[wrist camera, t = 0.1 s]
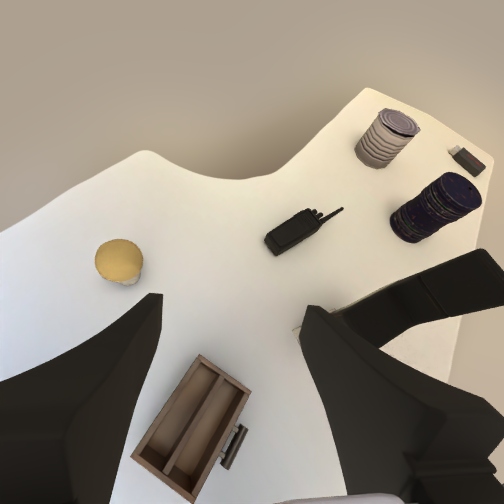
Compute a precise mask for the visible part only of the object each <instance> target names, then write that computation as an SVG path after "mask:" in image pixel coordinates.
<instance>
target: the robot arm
mask: <svg viewBox="0 0 504 504" xmlns="http://www.w3.org/2000/svg"><path fill="white" fill-rule="evenodd" d="M162 307H163V294H156V293H149V294H147V295H146V296H145V297H144V298H143V299H142V300H140V301H139V302H138V303H137V304H136V305H135V306H133V307H132V308H131V309H130V310H129V311H127V312H126V313H125V314H124V315H123V316H121V317H120V318H119V319H117V320H116V321H115V322H113V323H112V324H111V325H109V326H108V327H107V328H105V329H104V330H102V331H101V332H99V333H98V334H96V335H95V336H93V337H92V338H90V339H88V340H87V341H85V342H83V343H82V344H80V345H78V346H77V347H75V348H73V349H71V350H69V351H67V352H65V353H63V354H61V355H59V356H57V357H56V358H54V359H52V360H50V361H48V362H45V363H43V364H41V365H39V366H37V367H35V368H32V369H30V370H28V371H25V372H23V373H21V374H19V375H16V376H14V377H11V378H9V379H6V380H4V381H1V382H0V504H109V502H110V498H111V494H112V491H113V487H114V483H115V479H116V475H117V471H118V467H119V463H120V460H121V456H122V452H123V449H124V445H125V441H126V437H127V434H128V430H129V427H130V423H131V419H132V416H133V412H134V409H135V406H136V403H137V400H138V397H139V394H140V391H141V389H142V386H143V384H144V381H145V378H146V376H147V373H148V371H149V368H150V365H151V363H152V360H153V357H154V355H155V352H156V349H157V346H158V342H159V338H160V334H161V329H162ZM298 337H299V341H300V345H301V349H302V352H303V356H304V358H305V361H306V363H307V366H308V368H309V371H310V373H311V375H312V378H313V380H314V383H315V385H316V387H317V390H318V392H319V395H320V397H321V400H322V402H323V405H324V408H325V411H326V414H327V418H328V421H329V424H330V428H331V431H332V435H333V438H334V442H335V445H336V449H337V453H338V457H339V461H340V465H341V469H342V473H343V477H344V481H345V485H346V490H347V494H348V495H347V496H334V497H321V498H308V499H296V500H289V501H285V502H280V503H275V504H504V484H502V485H501V483H500V482H499V481H498V480H497V479H496V478H495V477H494V475H493V474H495V473H496V471H497V470H496V468H495V466H494V465H493V464H492V463H491V462H490V461H489V459H488V456H489V455H490V454H491V453H492V452H493V451H494V449H495V448H496V447H497V446H498V445H499V443H500V442H501V441H502V439H503V438H504V417H503V416H502V415H501V414H500V413H499V412H498V411H497V410H496V409H495V408H494V407H493V406H492V405H490V403H488V402H487V401H486V400H485V399H484V398H482V397H479V396H477V395H474V394H471V393H469V392H466V391H463V390H461V389H458V388H456V387H453V386H451V385H448V384H446V383H444V382H441V381H439V380H437V379H435V378H432V377H430V376H428V375H426V374H424V373H422V372H420V371H418V370H416V369H414V368H412V367H410V366H408V365H406V364H404V363H402V362H400V361H398V360H397V359H395V358H393V357H391V356H390V355H388V354H386V353H385V352H383V351H381V350H380V349H378V348H377V347H375V346H373V345H372V344H370V343H369V342H368V341H366V340H365V339H363V338H362V337H360V336H359V335H358V334H356V333H355V332H353V331H352V330H351V329H349V328H348V327H347V326H345V325H344V324H343V323H342V322H340V321H339V320H338V319H336V318H335V317H334V316H332V315H331V314H330V313H329V312H327V311H326V310H324V309H323V308H321V307H320V306H314V305H308V306H307V310H306V313H305V316H304V320H303V323H302V326H301V330H300V333H299V336H298Z"/></svg>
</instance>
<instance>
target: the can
mask: <svg viewBox="0 0 504 504" xmlns="http://www.w3.org/2000/svg"><path fill="white" fill-rule="evenodd" d="M378 113H379V115H378V116H377V118H376V119H375V120H374V122H373V123H372V124H371V126H370V127H369V128H368V130H367V131H366V133H365V134H364V135H363V137H362V138H361V139H360V141H359V142H358V144H357V145H356V147H355V152H356V155H357V157H358V158H359V159H360V160H361V161H362V162H363V163H364V164H365V165H367V166H369V167H372V168H375V169H380V168H385V167H386V166H387V165H388V164H389V163H390V162H391V161H392V160H393V159H394V157H395V156H396V155H397V154H398V153H399V152H400V151H401V150H402V149H403V148H404V147H405V146H406V145H407V144H408V143H409V142H410V141H411V140H412V139H413V138H414V136H415V135H416V134H417V133H418V132H419V131H420V128H419V127H418V125H417V123H416V122H415V120H413V119H412V118H410V117H409V116H407V115H405V114H404V113H402V112H400V111H397V110H392V109H387V108H385V109H383V110H382V111H380V112H378Z"/></svg>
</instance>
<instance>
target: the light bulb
mask: <svg viewBox="0 0 504 504" xmlns="http://www.w3.org/2000/svg"><path fill="white" fill-rule="evenodd" d="M142 265H143V255H142V252H141V251H140V249H139V248H138V246H137V245H136V244H134V243H133V242H131V241H128V240H124V239H115V240H111V241H108V242H106V243H104V244H102V245H101V246H100V247H99V249H98V250H97V252H96V255H95V266H96V269H97V271H98V272H99V274H100V275H101V276H102V277H104V278H105V279H107V280H110V281H114V282H119V283H121V284H123V285H132V284H134V283H136V282H137V281H138V280H139V278H140V270H141V268H142Z"/></svg>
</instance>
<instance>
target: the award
mask: <svg viewBox="0 0 504 504" xmlns="http://www.w3.org/2000/svg"><path fill="white" fill-rule="evenodd" d="M499 306H504V271H503V270H502V269H501V267H500V266H499V265H498V264H497V263H496V262H495V261H494V259H493V258H492V257H491V256H490V255H489V253H488V252H487V251H486V250H484V249H477V250H474V251H471V252H469V253H466V254H464V255H461V256H459V257H456V258H454V259H452V260H449V261H447V262H444V263H442V264H439V265H437V266H435V267H432V268H429V269H427V270H424V271H422V272H419V273H417V274H414V275H412V276H409V277H407V278H404V279H403V278H402V280H401V279H400V280H398V281H396V282H393V283H391V284H389V285H387V286H384V287H382V288H380V289H378V290H376V291H374V292H372V293H371V294H369V295H367V296H365V297H363V298H361V299H359V300H357V301H355V302H353V303H351V304H350V305H348V306H346V307H343V308H341V309H339V310H336V309H333V310H331V311H329V313H330V314H331V315H332V316H334V317H335V318H336V319H338V320H339V321H340V322H342V323H343V324H344V325H345V326H347V327H348V328H349V329H351V330H352V331H353V332H355V333H356V334H358V335H359V336H360V337H362V338H363V339H365V340H366V341H368V342H369V343H370V344H372V345H373V346H375V347H377V348H378V349H379V348H380V347H382V346H383V345H385V344H386V343H388V342H389V341H391V340H392V339H394V338H395V337H397V336H398V335H400V334H401V333H403V332H404V331H406V330H407V329H409V328H411V327H413V326H415V325H418V324H422V323H426V322H431V321H435V320H440V319H444V318H448V317H454V316H459V315H463V314H468V313H472V312H477V311H481V310H486V309H490V308H495V307H499ZM300 330H301V326H300V327H298V328H296V329H294V330H293V332H294V334H295V336H296V338H297V340H298V342H299V344H300V341H299V337H298V336H299V333H300ZM300 346H301V345H300Z"/></svg>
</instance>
